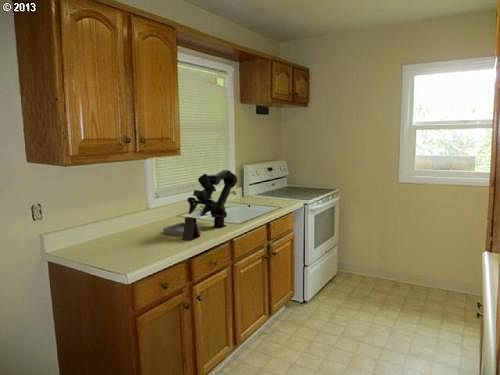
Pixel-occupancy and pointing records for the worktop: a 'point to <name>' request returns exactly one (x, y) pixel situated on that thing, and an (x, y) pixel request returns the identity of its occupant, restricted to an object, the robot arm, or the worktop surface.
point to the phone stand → (190, 229)
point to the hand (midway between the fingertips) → (195, 214)
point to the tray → (177, 229)
